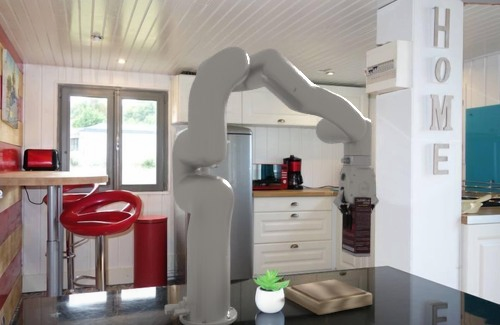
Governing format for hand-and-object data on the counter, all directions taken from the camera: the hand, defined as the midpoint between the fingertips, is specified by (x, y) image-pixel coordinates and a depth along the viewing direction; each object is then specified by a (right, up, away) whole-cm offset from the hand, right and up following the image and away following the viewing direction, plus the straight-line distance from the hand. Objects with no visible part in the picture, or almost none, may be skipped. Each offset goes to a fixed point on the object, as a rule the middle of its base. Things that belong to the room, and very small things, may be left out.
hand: (356, 227), depth 112 cm
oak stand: (-10, -17, -11) cm, 22 cm away
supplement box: (0, -7, 0) cm, 7 cm away
